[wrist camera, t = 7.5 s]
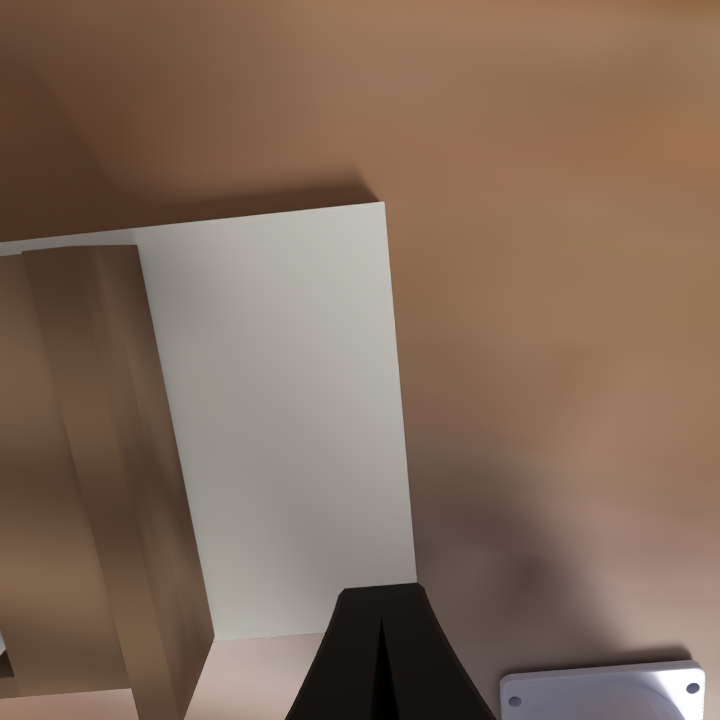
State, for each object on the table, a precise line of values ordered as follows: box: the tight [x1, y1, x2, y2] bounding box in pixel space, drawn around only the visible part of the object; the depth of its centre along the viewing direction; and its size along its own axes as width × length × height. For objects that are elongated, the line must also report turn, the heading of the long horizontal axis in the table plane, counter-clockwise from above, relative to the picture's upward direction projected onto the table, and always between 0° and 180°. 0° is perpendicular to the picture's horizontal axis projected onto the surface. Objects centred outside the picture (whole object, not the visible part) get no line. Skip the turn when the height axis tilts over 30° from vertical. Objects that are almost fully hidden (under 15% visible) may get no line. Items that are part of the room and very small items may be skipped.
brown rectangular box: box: [0, 245, 215, 720], centre depth 15 cm, size 14×9×4 cm, turn 6°
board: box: [0, 202, 417, 655], centre depth 16 cm, size 15×18×5 cm
